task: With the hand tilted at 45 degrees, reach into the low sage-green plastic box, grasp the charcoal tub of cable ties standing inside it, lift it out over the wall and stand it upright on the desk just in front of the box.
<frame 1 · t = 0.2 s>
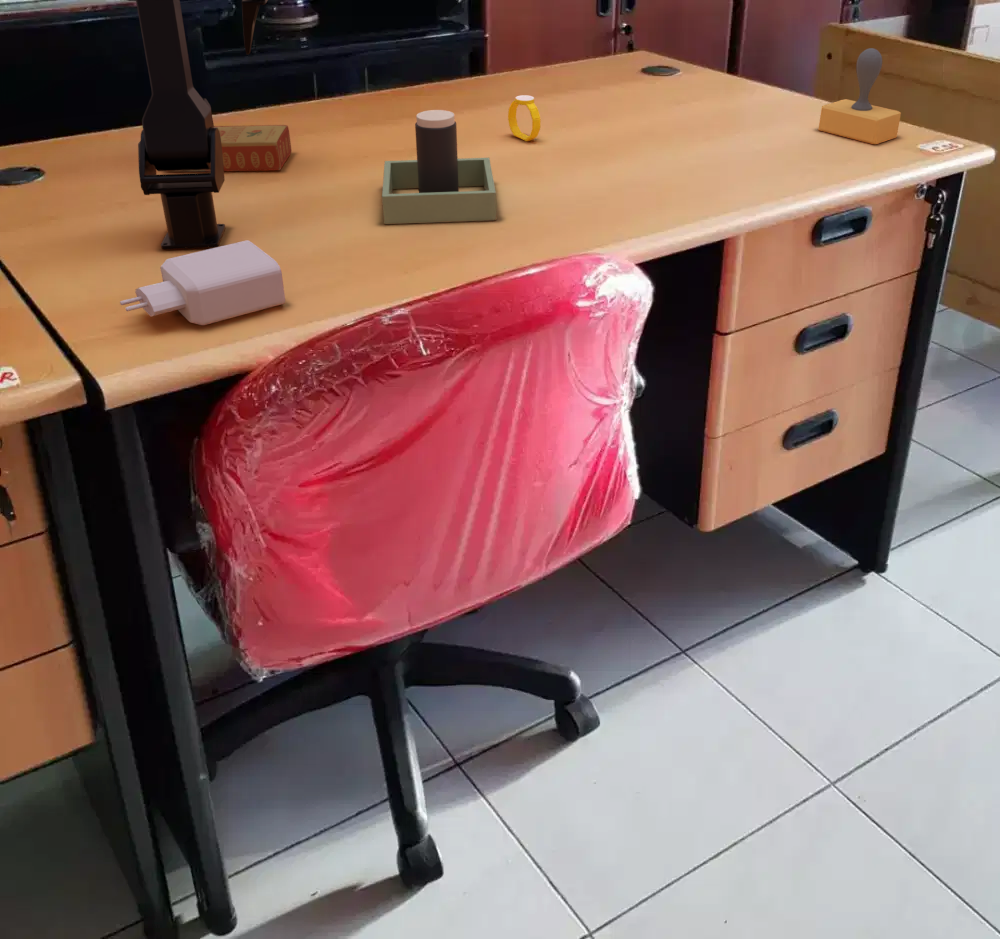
hand: (213, 54, 142), 15 cm above the table, tool pointing down, fingers open, 9 cm apart
watch: (524, 140, 159), on the table
rubber stamp: (856, 135, 158), on the table
carton: (230, 164, 151), on the table
charger: (200, 312, 110), on the table
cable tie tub: (437, 160, 133), in the box
box: (439, 203, 136), on the table
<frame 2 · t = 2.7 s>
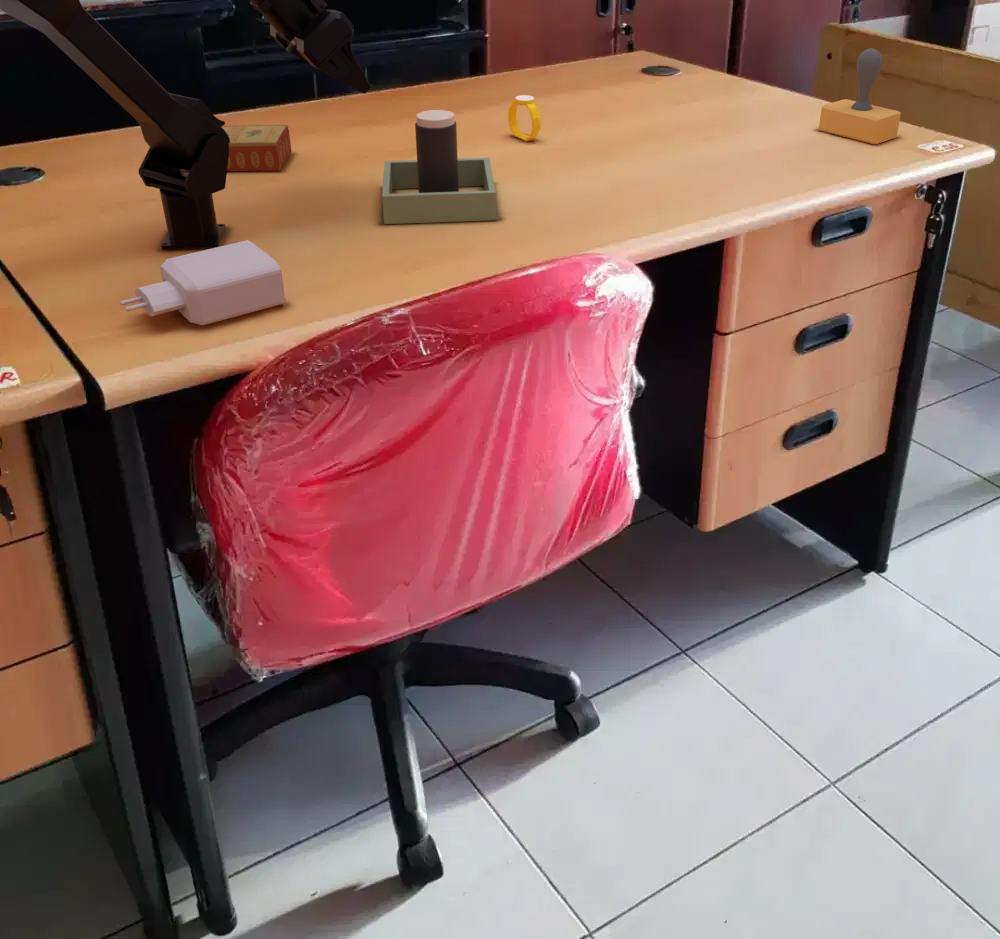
hand: (357, 84, 131), 14 cm above the table, tool tilted 40°, fingers open, 9 cm apart
nothing on the table moved.
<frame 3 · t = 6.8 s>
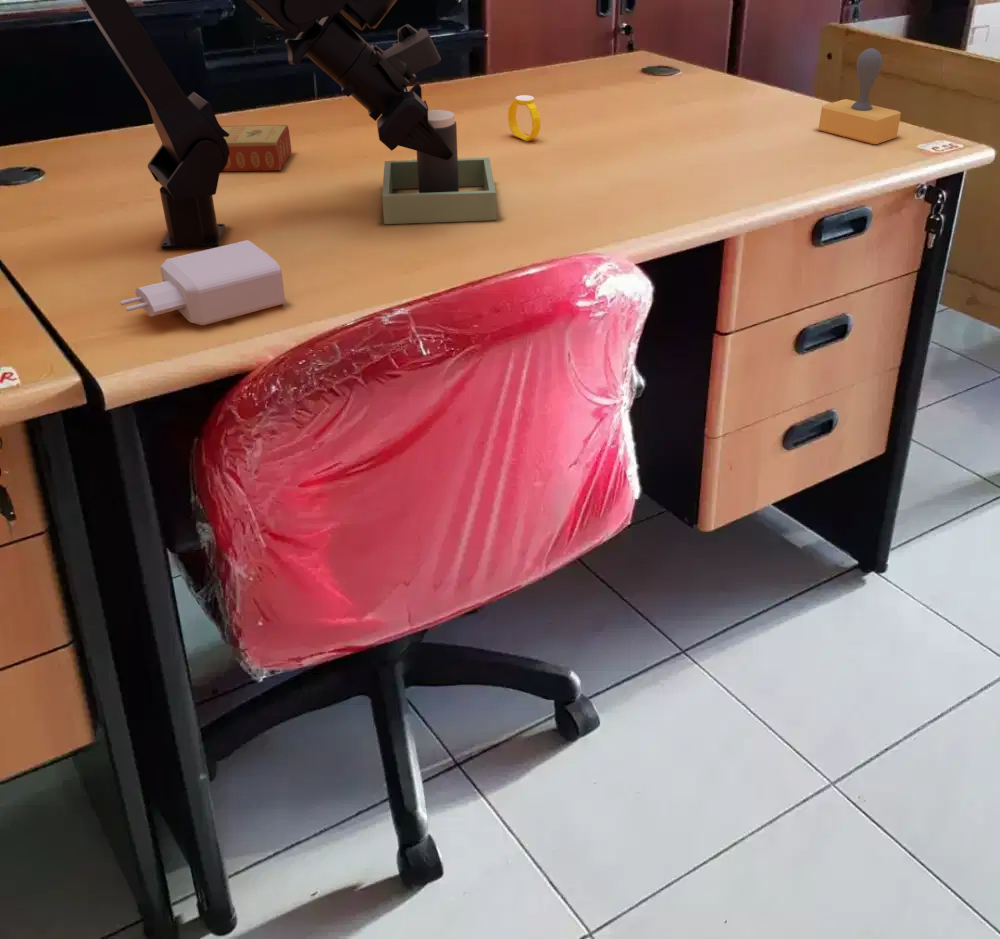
hand: (448, 150, 132), 7 cm above the table, tool tilted 45°, fingers closed on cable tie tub, 5 cm apart
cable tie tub: (437, 160, 133), in the box, touching gripper
everything else where it was.
when the fingers open (7 cm above the table, at t = 12.7 s): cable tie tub stays where it is, on the table.
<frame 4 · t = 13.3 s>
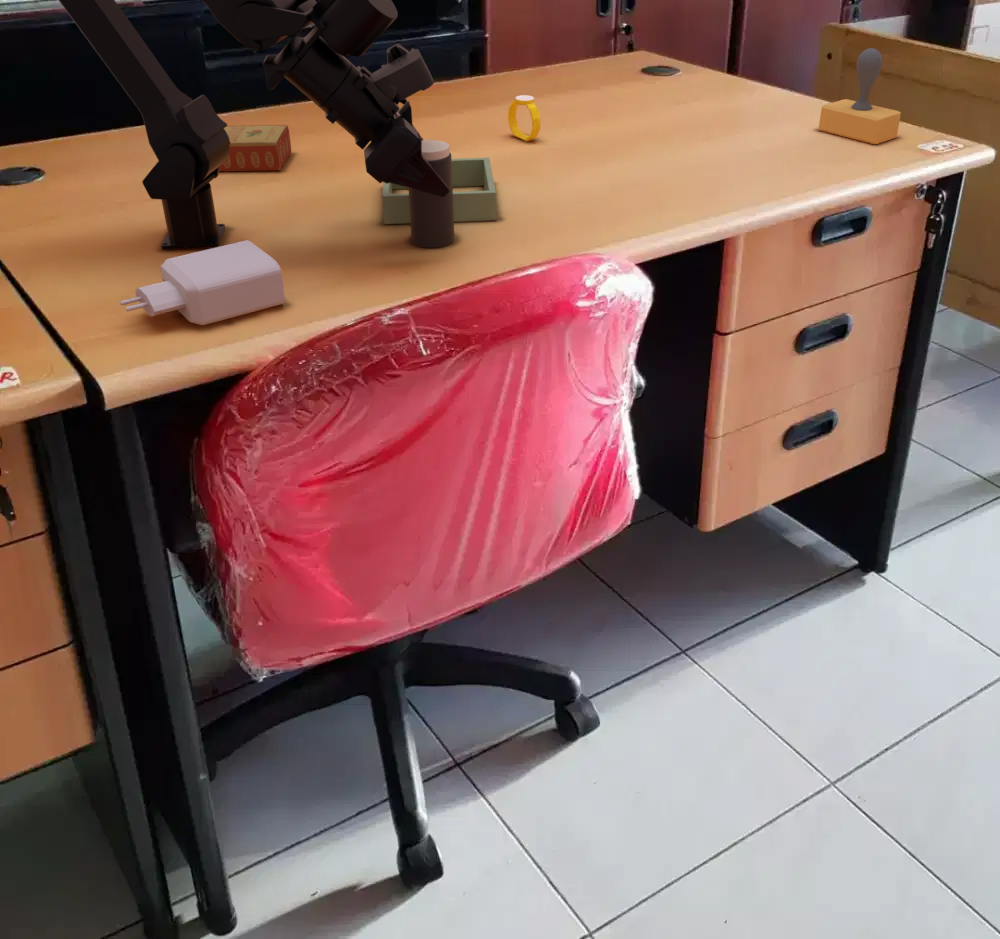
hand: (442, 180, 122), 7 cm above the table, tool tilted 45°, fingers open, 9 cm apart
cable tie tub: (430, 194, 122), on the table
everything else where it was.
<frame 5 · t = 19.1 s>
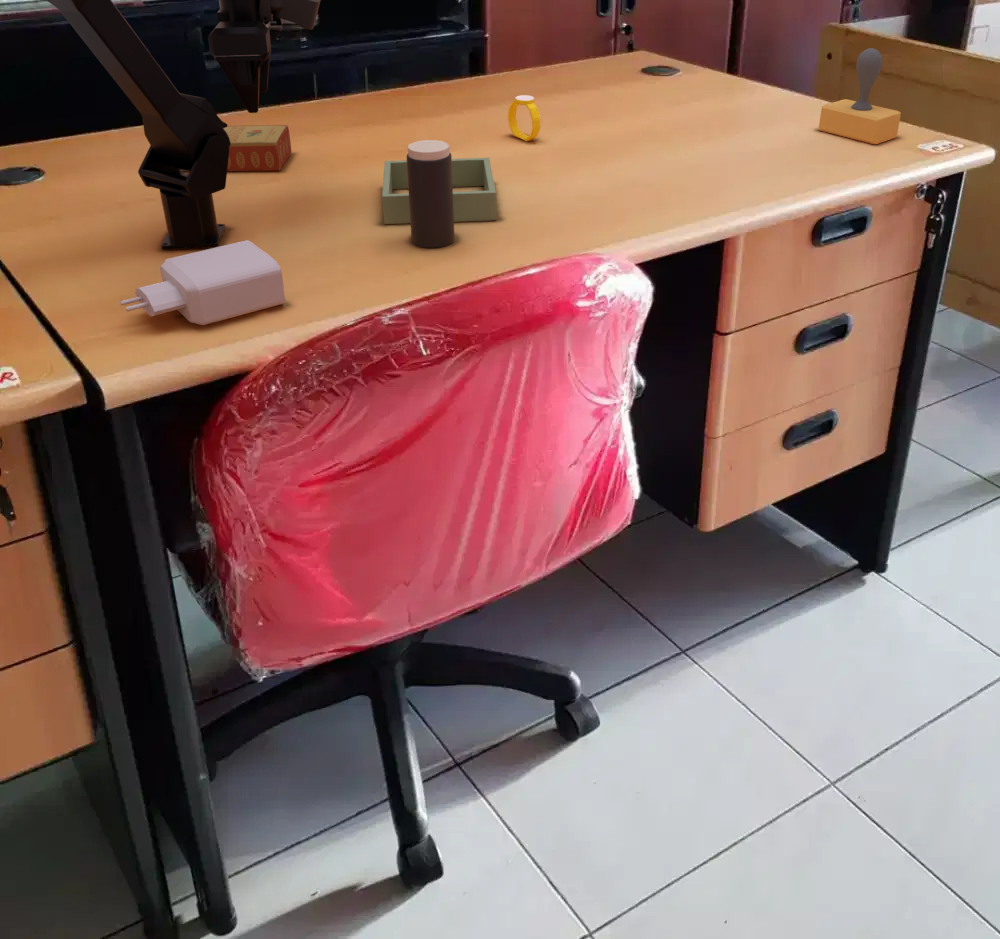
hand: (258, 102, 128), 13 cm above the table, tool pointing down, fingers open, 9 cm apart
nothing on the table moved.
at the end: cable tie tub inside the target area (0.1 cm from its centre), on the table; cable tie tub tilted 0°; the gripper is holding nothing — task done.
